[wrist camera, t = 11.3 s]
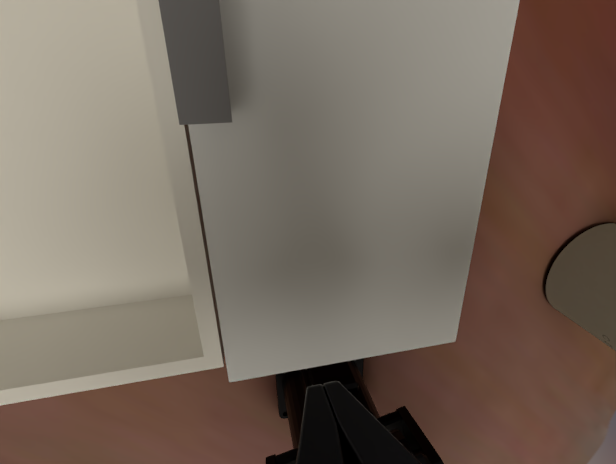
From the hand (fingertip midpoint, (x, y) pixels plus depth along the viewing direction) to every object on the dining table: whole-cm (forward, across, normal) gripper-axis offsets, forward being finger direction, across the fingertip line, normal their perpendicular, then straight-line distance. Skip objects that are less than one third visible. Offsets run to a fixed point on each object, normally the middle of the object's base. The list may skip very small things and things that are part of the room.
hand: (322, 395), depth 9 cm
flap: (+6, -3, -5) cm, 8 cm away
